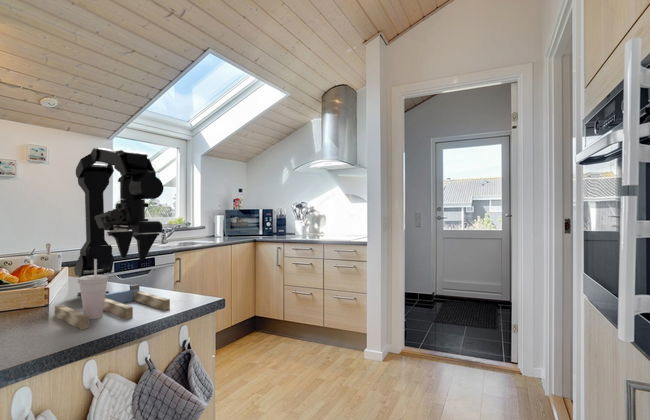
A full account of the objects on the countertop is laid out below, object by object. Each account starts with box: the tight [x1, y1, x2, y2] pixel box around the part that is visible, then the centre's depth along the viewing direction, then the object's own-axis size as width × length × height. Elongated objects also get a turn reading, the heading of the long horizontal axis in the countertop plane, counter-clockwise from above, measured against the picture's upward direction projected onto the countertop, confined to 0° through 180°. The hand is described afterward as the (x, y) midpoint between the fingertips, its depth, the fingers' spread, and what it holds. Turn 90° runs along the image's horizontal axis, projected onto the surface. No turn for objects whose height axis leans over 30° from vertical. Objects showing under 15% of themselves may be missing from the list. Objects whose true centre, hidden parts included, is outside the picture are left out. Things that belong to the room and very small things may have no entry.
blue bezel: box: [105, 283, 140, 304], centre depth 101 cm, size 2×11×4 cm, turn 143°
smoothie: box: [77, 259, 109, 320], centre depth 88 cm, size 6×6×14 cm
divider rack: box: [54, 290, 171, 330], centre depth 92 cm, size 16×20×2 cm
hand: (132, 259), depth 96 cm, fingers open, 9 cm apart
